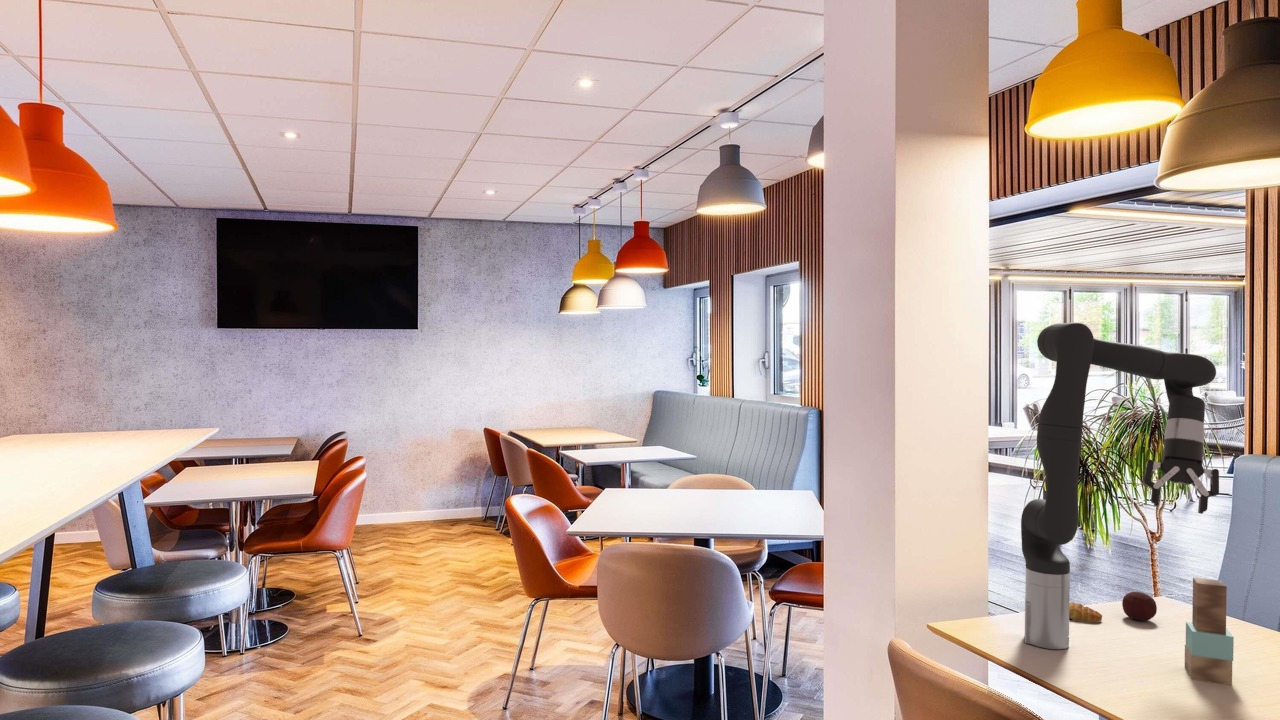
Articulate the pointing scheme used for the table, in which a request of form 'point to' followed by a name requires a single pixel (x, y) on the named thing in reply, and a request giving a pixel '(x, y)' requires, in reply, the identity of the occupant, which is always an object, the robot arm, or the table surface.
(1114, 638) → the table surface
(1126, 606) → the potato
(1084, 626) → the table surface
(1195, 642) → the tower top
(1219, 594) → the post
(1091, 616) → the pastry
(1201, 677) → the tower base
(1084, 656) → the table surface
